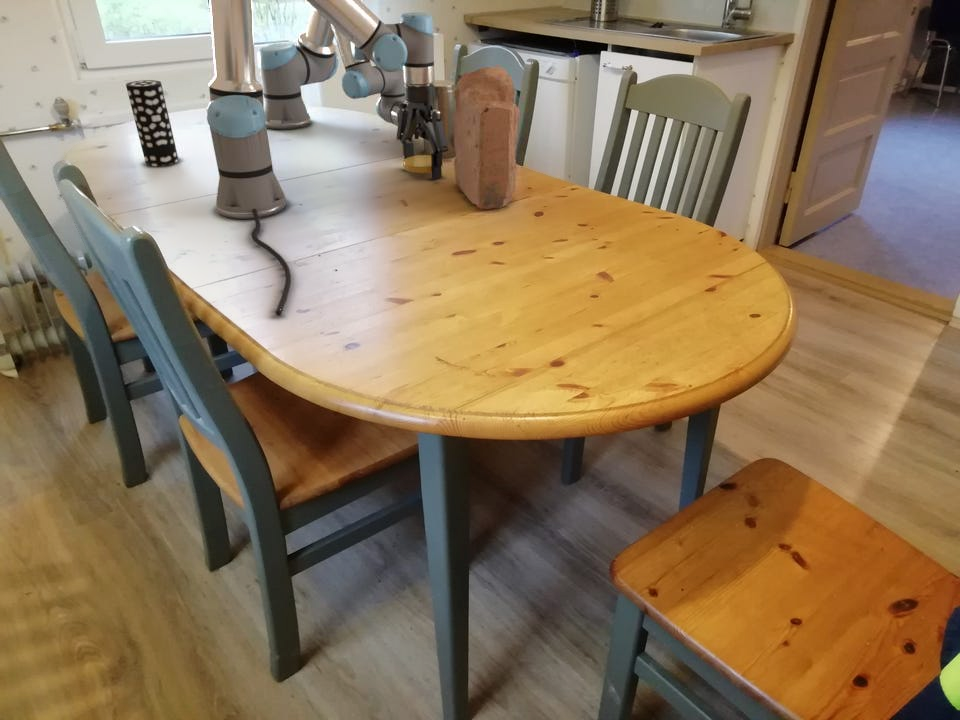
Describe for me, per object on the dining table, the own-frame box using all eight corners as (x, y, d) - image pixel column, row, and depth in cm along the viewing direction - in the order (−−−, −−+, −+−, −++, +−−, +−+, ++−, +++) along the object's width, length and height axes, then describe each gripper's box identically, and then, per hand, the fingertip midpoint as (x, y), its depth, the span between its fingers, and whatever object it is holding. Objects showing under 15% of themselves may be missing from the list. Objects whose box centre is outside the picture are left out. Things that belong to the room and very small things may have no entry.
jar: (437, 160, 191) (436, 88, 180) (417, 153, 196) (414, 82, 186) (463, 154, 196) (462, 83, 186) (442, 147, 202) (441, 78, 191)
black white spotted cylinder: (184, 157, 190) (167, 80, 179) (169, 166, 183) (151, 87, 172) (155, 156, 190) (136, 79, 179) (139, 165, 183) (119, 86, 172)
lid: (428, 175, 174) (428, 169, 173) (395, 169, 178) (395, 163, 177) (449, 164, 181) (449, 158, 180) (417, 159, 185) (417, 153, 184)
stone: (526, 207, 159) (530, 77, 145) (480, 212, 156) (479, 80, 142) (495, 182, 177) (496, 64, 162) (453, 186, 174) (450, 66, 159)
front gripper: (462, 88, 164) (463, 180, 176) (401, 75, 177) (406, 161, 189) (439, 93, 159) (441, 186, 171) (378, 79, 173) (384, 166, 185)
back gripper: (440, 125, 212) (481, 142, 197) (376, 135, 202) (413, 154, 186) (440, 100, 208) (481, 115, 193) (374, 108, 198) (412, 125, 182)
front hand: (423, 173), depth 180 cm, fingers closed on lid, 10 cm apart
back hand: (447, 134), depth 190 cm, fingers closed on jar, 9 cm apart
